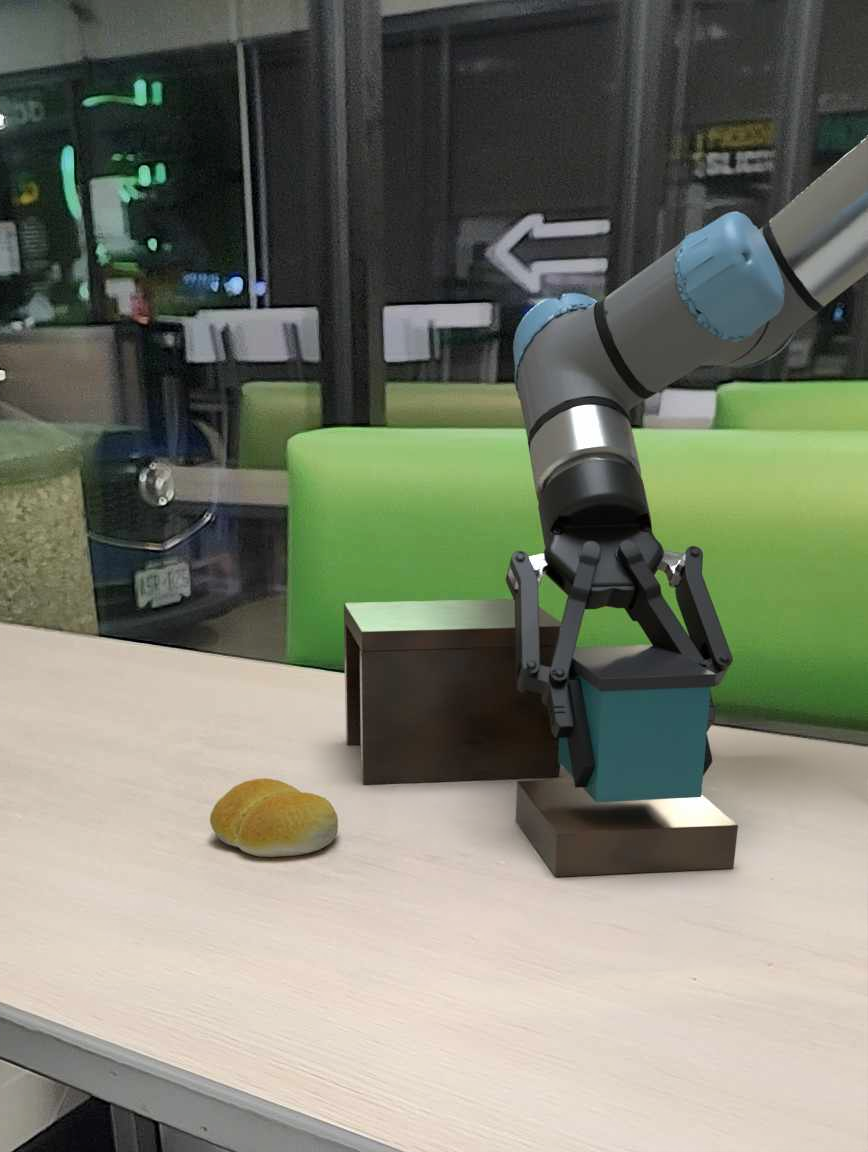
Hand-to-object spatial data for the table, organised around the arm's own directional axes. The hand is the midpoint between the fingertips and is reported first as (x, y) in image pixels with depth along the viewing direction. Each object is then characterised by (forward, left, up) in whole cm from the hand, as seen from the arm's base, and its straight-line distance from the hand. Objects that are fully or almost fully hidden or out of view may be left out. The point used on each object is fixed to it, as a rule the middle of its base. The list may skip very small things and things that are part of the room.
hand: (643, 773), depth 86 cm
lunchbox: (+1, -3, -1) cm, 4 cm away
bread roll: (+25, -3, -6) cm, 26 cm away
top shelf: (+13, -25, -6) cm, 29 cm away
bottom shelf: (+1, -3, -6) cm, 7 cm away
